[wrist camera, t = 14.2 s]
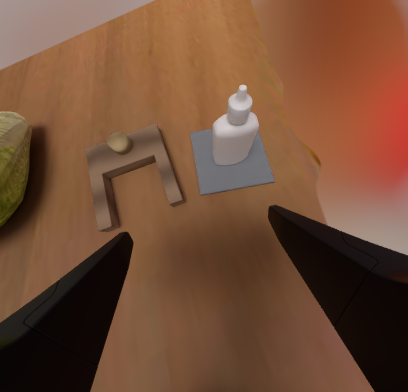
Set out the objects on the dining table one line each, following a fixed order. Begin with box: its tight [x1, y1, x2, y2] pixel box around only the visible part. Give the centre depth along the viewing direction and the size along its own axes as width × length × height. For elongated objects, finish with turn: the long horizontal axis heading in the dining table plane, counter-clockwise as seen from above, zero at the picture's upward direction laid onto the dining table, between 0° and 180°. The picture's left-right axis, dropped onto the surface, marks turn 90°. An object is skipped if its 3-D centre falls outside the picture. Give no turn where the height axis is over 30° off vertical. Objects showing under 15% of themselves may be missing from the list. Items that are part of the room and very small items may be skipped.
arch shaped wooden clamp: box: [85, 123, 185, 232], centre depth 24 cm, size 15×13×4 cm
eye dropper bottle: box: [213, 85, 259, 165], centre depth 19 cm, size 4×6×12 cm
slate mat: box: [190, 129, 275, 195], centre depth 25 cm, size 12×12×1 cm
